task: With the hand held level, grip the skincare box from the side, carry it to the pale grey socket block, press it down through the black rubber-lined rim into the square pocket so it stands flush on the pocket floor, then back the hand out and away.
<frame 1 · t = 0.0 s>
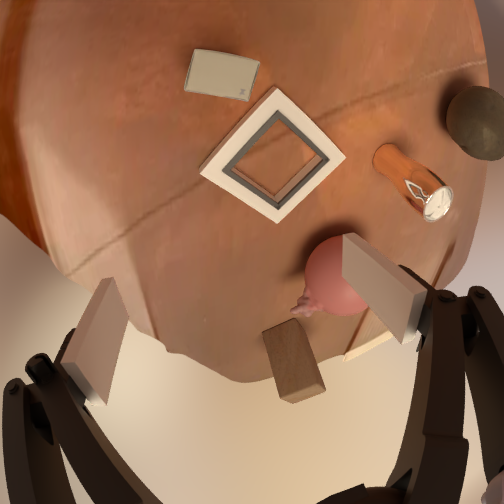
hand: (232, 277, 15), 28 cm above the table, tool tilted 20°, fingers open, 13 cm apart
balloon: (318, 253, 58), on the table
dark brown ball: (452, 107, 38), on the table
beer glass: (385, 157, 44), on the table
skincare box: (213, 66, 30), on the table
socket block: (274, 157, 41), on the table
wooden block: (283, 330, 77), on the table
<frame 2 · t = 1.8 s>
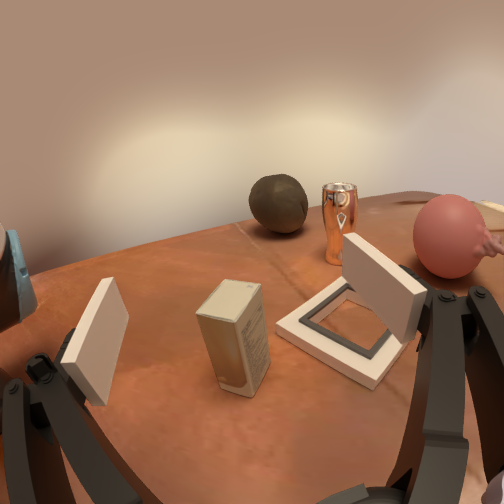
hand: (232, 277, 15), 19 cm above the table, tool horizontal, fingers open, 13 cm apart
balloon: (451, 278, 43), on the table
dark brown ball: (281, 233, 72), on the table
beer glass: (339, 259, 56), on the table
skincare box: (246, 377, 32), on the table
socket block: (355, 327, 37), on the table
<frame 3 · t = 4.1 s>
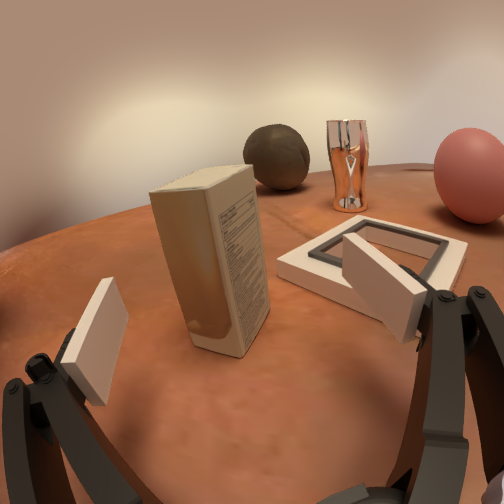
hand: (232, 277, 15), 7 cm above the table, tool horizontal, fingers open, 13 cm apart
balloon: (481, 226, 33), on the table
dark brown ball: (280, 191, 62), on the table
beer glass: (350, 208, 46), on the table
skincare box: (233, 330, 22), on the table
socket block: (384, 267, 27), on the table
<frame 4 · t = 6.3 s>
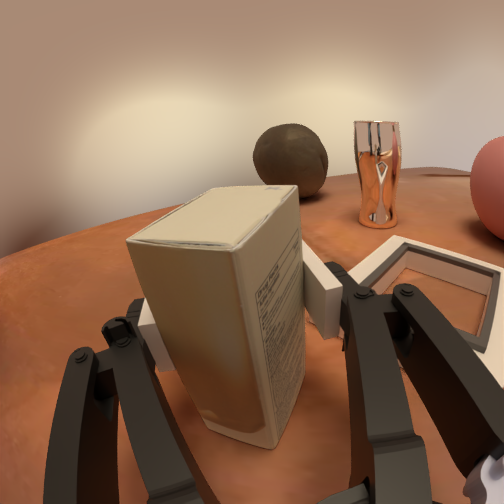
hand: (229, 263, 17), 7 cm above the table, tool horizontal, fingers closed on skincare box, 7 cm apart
dark brown ball: (294, 199, 55), on the table
beer glass: (377, 222, 39), on the table
skincare box: (259, 405, 15), on the table, touching gripper
socket block: (432, 306, 20), on the table
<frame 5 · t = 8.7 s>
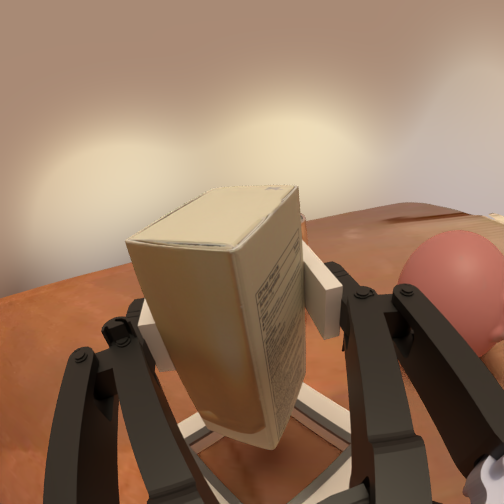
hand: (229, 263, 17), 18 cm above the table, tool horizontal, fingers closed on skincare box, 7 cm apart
balloon: (450, 357, 26), on the table
skincare box: (259, 405, 15), point 11 cm above the table, touching gripper
socket block: (269, 459, 20), on the table
when the fingers open (8 cm above the table, at t = 11.3 s): skincare box drops 1 cm, resting in socket block.
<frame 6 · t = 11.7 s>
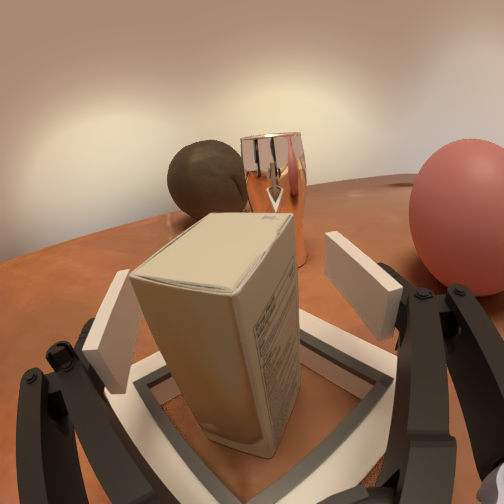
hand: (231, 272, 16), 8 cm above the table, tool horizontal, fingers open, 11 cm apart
balloon: (477, 294, 22), on the table
dark brown ball: (215, 223, 51), on the table
beer glass: (282, 260, 35), on the table
skincare box: (256, 416, 16), resting in socket block
socket block: (260, 412, 16), on the table
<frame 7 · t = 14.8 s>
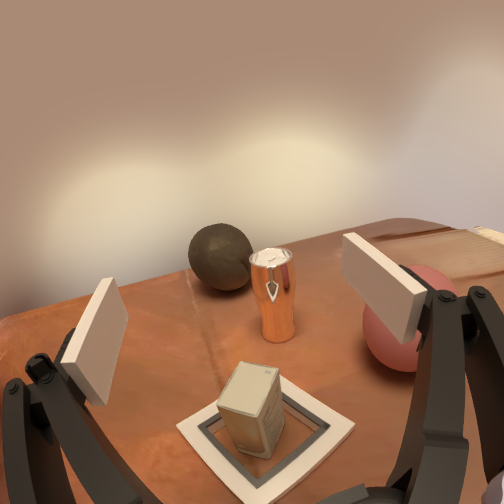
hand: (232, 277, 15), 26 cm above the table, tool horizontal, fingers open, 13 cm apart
balloon: (411, 364, 35), on the table
dark brown ball: (227, 287, 65), on the table
beer glass: (278, 332, 48), on the table
skincare box: (262, 439, 29), resting in socket block
socket block: (264, 437, 30), on the table
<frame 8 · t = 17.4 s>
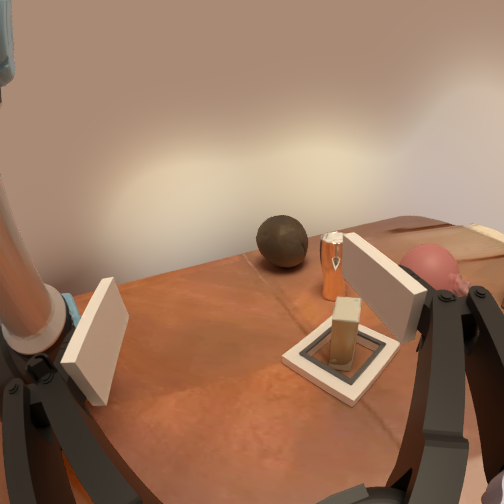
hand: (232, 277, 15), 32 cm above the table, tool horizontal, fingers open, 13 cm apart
balloon: (428, 312, 53), on the table
dark brown ball: (284, 266, 82), on the table
beer glass: (334, 294, 66), on the table
skincare box: (341, 359, 47), resting in socket block
socket block: (342, 358, 47), on the table
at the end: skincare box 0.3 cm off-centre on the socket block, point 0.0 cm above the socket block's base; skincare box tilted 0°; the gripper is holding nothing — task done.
